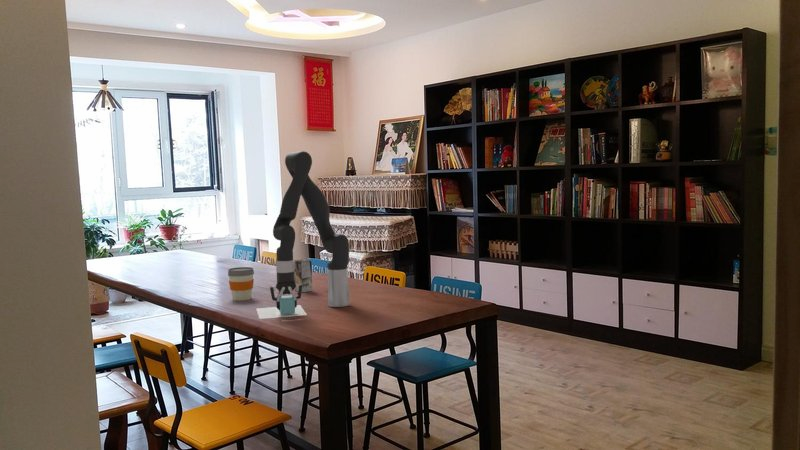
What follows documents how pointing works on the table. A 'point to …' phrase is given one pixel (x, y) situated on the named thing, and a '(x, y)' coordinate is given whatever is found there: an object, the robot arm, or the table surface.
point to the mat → (278, 312)
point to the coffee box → (303, 274)
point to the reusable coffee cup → (241, 282)
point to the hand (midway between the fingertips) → (286, 308)
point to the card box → (287, 304)
